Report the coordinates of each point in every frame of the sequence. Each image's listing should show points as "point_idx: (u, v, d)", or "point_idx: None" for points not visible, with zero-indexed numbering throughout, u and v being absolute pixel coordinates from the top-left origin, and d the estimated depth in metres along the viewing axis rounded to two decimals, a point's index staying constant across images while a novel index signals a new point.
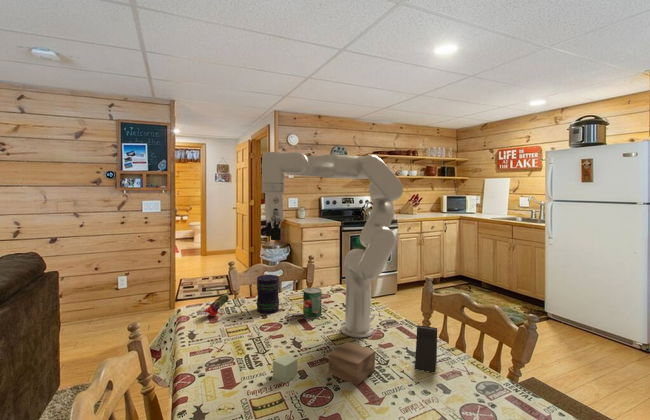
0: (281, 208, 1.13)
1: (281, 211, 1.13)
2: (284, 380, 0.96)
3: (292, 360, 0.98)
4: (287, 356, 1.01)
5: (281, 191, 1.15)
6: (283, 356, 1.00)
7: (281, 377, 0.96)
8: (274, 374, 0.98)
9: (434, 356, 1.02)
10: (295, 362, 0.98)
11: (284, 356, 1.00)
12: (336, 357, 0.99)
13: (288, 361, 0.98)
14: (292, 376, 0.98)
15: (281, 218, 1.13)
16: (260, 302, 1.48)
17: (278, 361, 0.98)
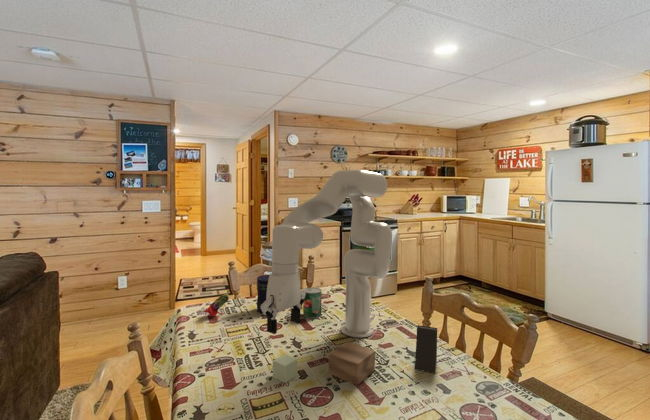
0: None
1: None
2: (284, 380, 0.96)
3: (292, 360, 0.98)
4: (287, 356, 1.00)
5: None
6: (283, 356, 1.00)
7: (281, 377, 0.96)
8: (274, 374, 0.98)
9: (434, 356, 1.02)
10: (295, 362, 0.98)
11: (284, 356, 1.00)
12: (336, 357, 0.99)
13: (288, 361, 0.98)
14: (292, 376, 0.98)
15: None
16: (260, 302, 1.48)
17: (278, 361, 0.98)
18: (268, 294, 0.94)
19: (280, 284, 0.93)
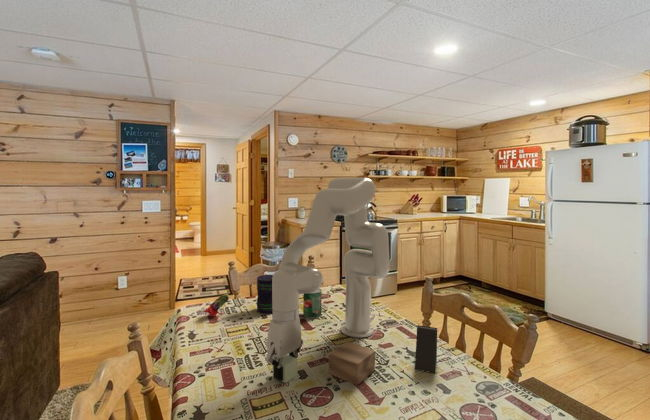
0: None
1: None
2: (284, 380, 0.96)
3: (292, 360, 0.98)
4: (287, 356, 1.00)
5: None
6: (283, 356, 1.00)
7: None
8: None
9: (434, 356, 1.02)
10: (295, 362, 0.98)
11: (284, 356, 1.00)
12: (336, 357, 0.99)
13: (288, 361, 0.98)
14: (292, 376, 0.98)
15: None
16: (260, 302, 1.48)
17: None
18: (269, 341, 0.95)
19: (280, 332, 0.94)
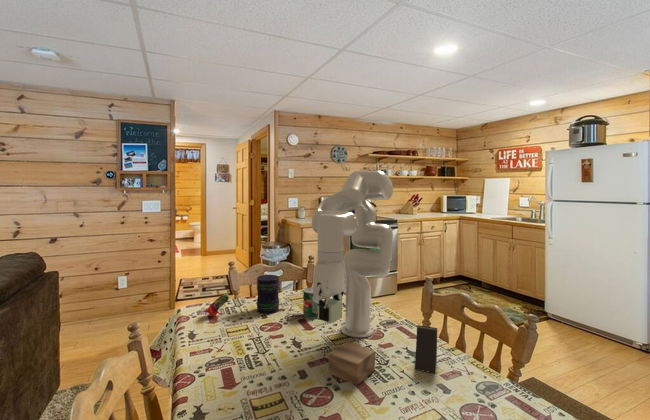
0: None
1: None
2: (330, 320, 0.97)
3: (337, 302, 0.99)
4: (331, 299, 1.01)
5: None
6: None
7: None
8: None
9: (434, 356, 1.02)
10: (340, 304, 0.99)
11: None
12: (336, 357, 0.99)
13: (333, 303, 0.98)
14: (337, 317, 0.99)
15: None
16: (260, 302, 1.48)
17: None
18: (315, 282, 0.96)
19: (327, 272, 0.94)
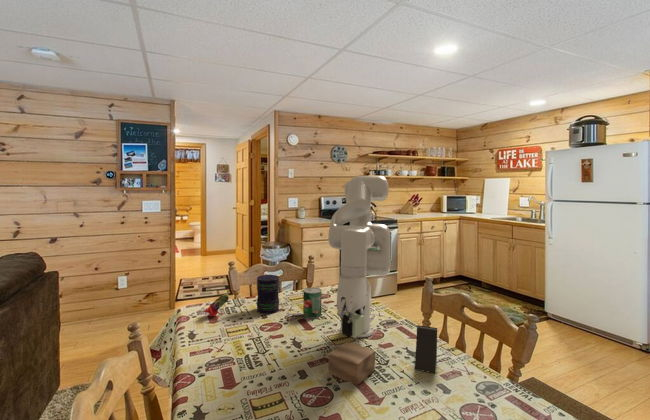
0: None
1: None
2: (354, 335, 0.97)
3: (360, 316, 1.00)
4: (353, 314, 1.02)
5: None
6: None
7: None
8: None
9: (434, 356, 1.02)
10: (362, 318, 1.00)
11: None
12: (336, 357, 0.99)
13: (356, 317, 0.99)
14: (360, 332, 0.99)
15: None
16: (260, 302, 1.48)
17: None
18: (339, 296, 0.97)
19: (352, 287, 0.95)
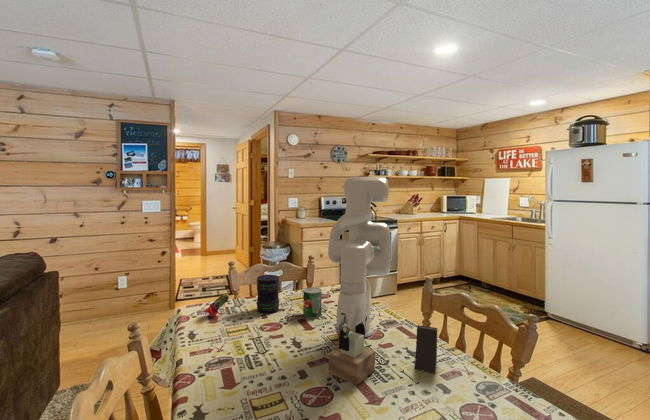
0: None
1: None
2: (353, 355, 0.98)
3: (359, 336, 1.01)
4: (353, 333, 1.03)
5: None
6: (349, 333, 1.03)
7: (350, 352, 0.99)
8: (342, 350, 1.00)
9: (434, 356, 1.02)
10: (362, 338, 1.01)
11: (350, 333, 1.03)
12: (336, 357, 0.99)
13: (356, 337, 1.00)
14: (360, 351, 1.00)
15: None
16: (260, 302, 1.48)
17: None
18: (339, 312, 0.97)
19: (351, 303, 0.96)
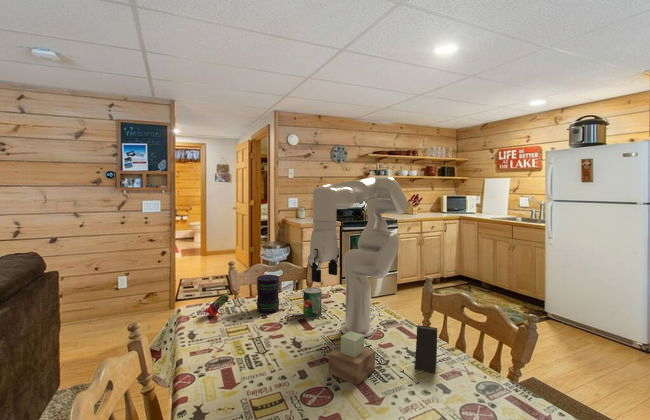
0: None
1: None
2: (353, 355, 0.98)
3: (359, 336, 1.01)
4: (353, 333, 1.03)
5: None
6: (349, 333, 1.03)
7: (350, 352, 0.99)
8: (342, 350, 1.00)
9: (434, 356, 1.02)
10: (362, 338, 1.01)
11: (350, 333, 1.03)
12: (336, 357, 0.99)
13: (356, 337, 1.00)
14: (360, 351, 1.00)
15: None
16: (260, 302, 1.48)
17: (346, 337, 1.00)
18: (312, 248, 1.06)
19: (323, 239, 1.05)
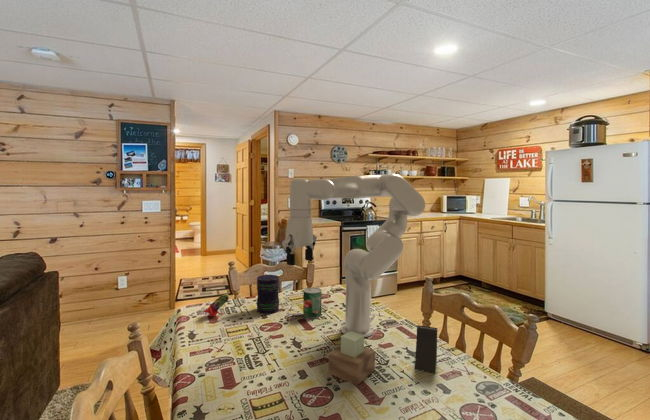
0: None
1: None
2: (353, 355, 0.98)
3: (359, 336, 1.01)
4: (353, 333, 1.03)
5: None
6: (349, 333, 1.03)
7: (350, 352, 0.99)
8: (342, 350, 1.00)
9: (434, 356, 1.02)
10: (362, 338, 1.01)
11: (350, 333, 1.03)
12: (336, 357, 0.99)
13: (356, 337, 1.00)
14: (360, 351, 1.00)
15: None
16: (260, 302, 1.48)
17: (346, 337, 1.00)
18: (287, 234, 1.16)
19: (297, 225, 1.15)
